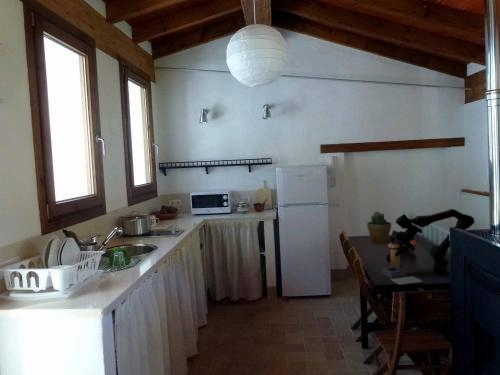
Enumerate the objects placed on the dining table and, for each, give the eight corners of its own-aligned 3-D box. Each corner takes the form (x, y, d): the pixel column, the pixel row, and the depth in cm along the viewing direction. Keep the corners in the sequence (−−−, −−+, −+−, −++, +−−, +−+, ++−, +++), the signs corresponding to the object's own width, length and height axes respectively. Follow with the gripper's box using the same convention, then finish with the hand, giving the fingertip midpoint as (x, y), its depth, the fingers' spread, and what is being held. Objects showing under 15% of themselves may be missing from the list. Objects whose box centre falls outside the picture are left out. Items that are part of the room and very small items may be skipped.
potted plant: (363, 240, 316) (362, 210, 314) (385, 238, 318) (384, 208, 316) (373, 245, 297) (372, 213, 295) (396, 243, 299) (395, 212, 297)
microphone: (405, 274, 237) (391, 261, 256) (408, 265, 236) (394, 253, 255) (396, 272, 236) (383, 259, 256) (399, 263, 235) (386, 251, 255)
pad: (412, 278, 219) (412, 276, 219) (422, 282, 211) (422, 281, 211) (390, 281, 217) (390, 279, 217) (399, 286, 208) (399, 284, 208)
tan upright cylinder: (397, 263, 227) (396, 243, 226) (402, 266, 221) (401, 245, 220) (388, 264, 226) (387, 244, 225) (393, 267, 220) (392, 246, 219)
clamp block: (397, 271, 232) (397, 265, 232) (408, 277, 221) (408, 270, 221) (380, 274, 230) (380, 267, 229) (390, 279, 219) (390, 273, 219)
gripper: (391, 222, 232) (375, 242, 231) (409, 228, 213) (392, 250, 212) (403, 234, 234) (387, 254, 233) (423, 240, 215) (405, 262, 214)
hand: (392, 254), depth 223 cm, fingers closed on tan upright cylinder, 5 cm apart
